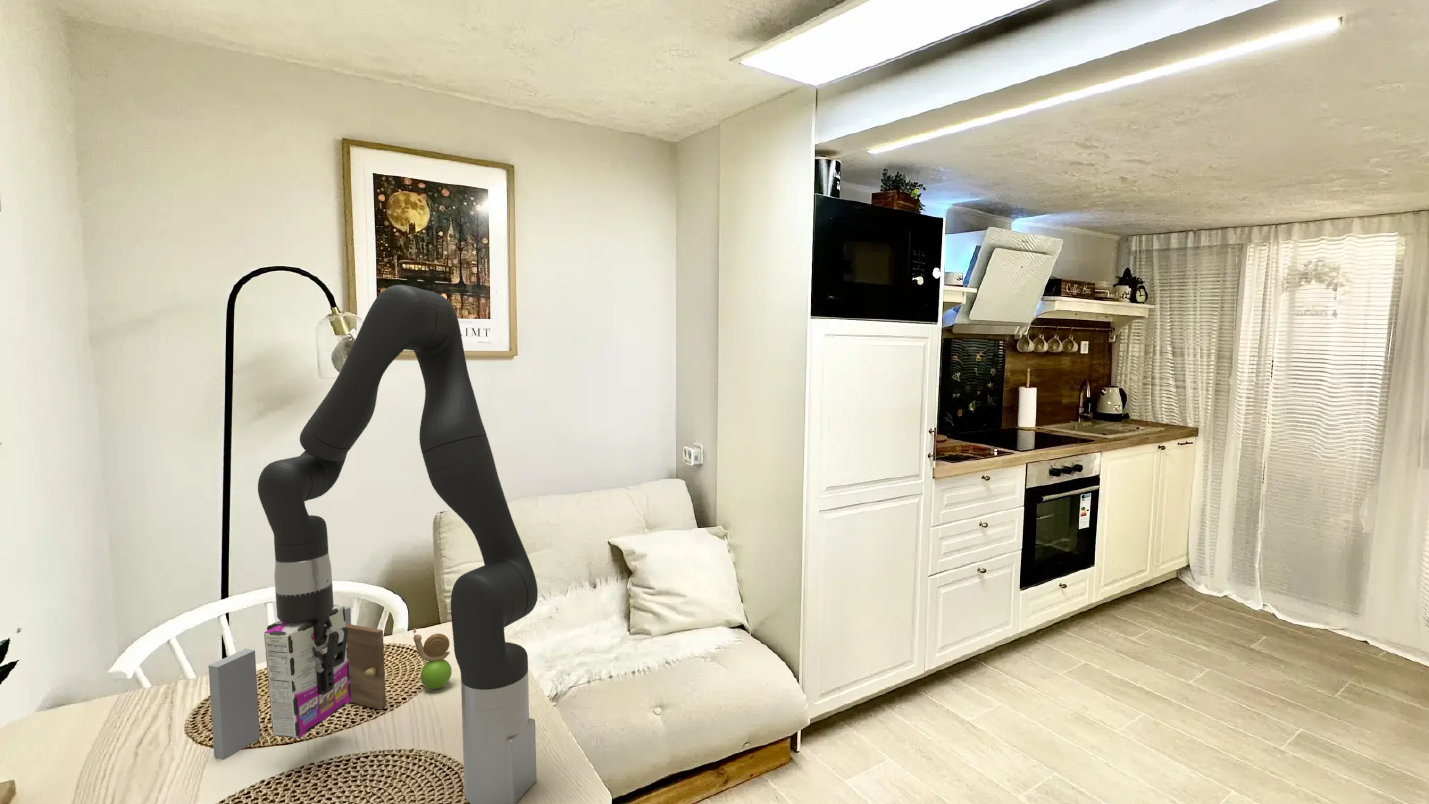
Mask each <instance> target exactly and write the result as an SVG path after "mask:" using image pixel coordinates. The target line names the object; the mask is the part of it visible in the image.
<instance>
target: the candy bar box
mask: <svg viewBox="0 0 1429 804" xmlns="http://www.w3.org/2000/svg"><path fill="white" fill-rule="evenodd" d="M344 606H345V605H341V604H340V605H339V604H334V606H333V609H332V610H331V612H330V615H329V618H330V621H331V623H332V627H334V628H337V629H341V628H343V627H346V622H345V609H344ZM263 637H264V638H263V639H264V646H265V649H264V650H265V657H266V658H265V659H266V661H265V662H266V669H267V672H266V673H267V677H268V678H267V679H268V681H267V683H268V694H269V705H270V718H271V728H272V730H271V731H272V735H273V736H274V737H279V738H289V739H290V738H293V739H299V738H301V737H303V736H304V735H306V734H307V733H308V732H310V731H311V730H313V729H314V728H316V727H317V726H319V725H320V724H321V723H322V722H324V721H326V720H327V719H328V718H329V717H331V716H332V715H333V714H335V713H336V712H338V711H339V710H341V709H342V708H343V707H344V706H346V705H347V704H349V703H351V702H350V701H351V689H350V676H349V664H348V663H349V661H348V652H347V651H348V650H347V644H346V652H345V660H344V662H343V663H342V664H340V665H338V666H336V667H334V668H333V672H334V687H333V689H332V690H331V691H329V692H328V693H326V694H324V695H320V694H318V688H317V674H316V672H318V671H317V669H316V666H315V659H313V658H312V648H311V647H313V646H314V647H315V649H316V651H320V650H322V649H324V648H325V647H326V644H327V643H326V641H325V642H324V644H322V645H320V646H316V645H315V642H314V631H313V623H312V622H309V621H303V622H284V623H282V624H280V625H278V626H276V627H274V628H272V629H270V630H268V631H267V630H266V631H264V632H263ZM336 655H337V654H336ZM336 655H335V658H336ZM321 658H322V660H323V662H325V661H326V659H325V654H323V655H322V656H321Z"/></svg>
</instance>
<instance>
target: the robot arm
mask: <svg viewBox="0 0 1429 804" xmlns="http://www.w3.org/2000/svg"><path fill="white" fill-rule="evenodd" d="M403 351H412V352H413V353H414V355H415V357H416V360H417V362H418V365H419V369H420V371H421V375H422V378H423V383H424V391H425V392H424V404H423V407H422V408H423V409H422V414H421V419H420V426H419V436H418V437H419V438H418V439H419V446H420V451H421V452H420V453H421V454H422V458H423V461H424V466H425V469H426V472H427V475H428V479H429V481H430V484H431V486H432V487H433V489H434V491H435V492H436V493H437V494H436V495H438V496H439V497H440V498H441V500H443V502H445V504H446V505H447V506H448V507H449V508H450V509H451V510H452V511H453V512H454V513H456V515H457V516H458V517H459V518H460V519H461V520H462V521H463V522H464V523H465V524H466V526H468V528H469V529H470V530H471V533H472V534H473V536H474V538H475V540H476V542H477V544H478V547H479V550H480V553H481V556H482V560H483V563H484V565H482V566H480V567H477V568H474V569H472V570H470V571H467V572H465V573H463V574H461V576H459V577H458V578H457V579H456V581H455V582H454V584H453V587H452V589H451V594H450V615H451V616H450V619H451V630H452V638H453V640H452V641H453V651H454V656H455V660H456V663H457V665H458V668H459V671H460V687H461V688H460V689H461V691H460V692H461V693H460V694H461V721H462V723H461V725H462V726H461V727H462V728H461V729H462V755H463V756H462V758H463V760H462V761H463V781H464V782H463V783H464V785H463V786H464V788H463V789H464V797H465V799H466V801H467V802H468V803H469V804H517V803H518V802H519V800H520V799H521V798H522V797H523V796H524V795H525V794H526V792H528V790H529V789H530V788H531V787H532V786H533V785H534V783H536V781H538V780H537V742H536V741H537V739H536V738H537V737H536V734H537V733H536V720H535V719H534V718H530V707H529V706H530V705H529V704H530V702H529V701H530V697H529V695H530V694H529V692H530V691H529V658H528V652H527V650H526V648H524V647H523V646H522V645H519V644H516V643H513V642H509V641H507V642H506V638H505V637H506V636H505V628H506V627H508V626H510V625H512V624H514V623H515V622H517V621H519V620H521V619H523V618H525V617H526V616H527V615H530V613H532V611H533V610H534V608H535V607H536V604H537V601H538V596H539V595H538V593H539V592H538V583H537V578H536V576H535V575H536V574H535V572H534V569H533V566H532V564H531V561H530V559H529V556H528V554H527V551H526V549H525V547H524V544H523V542H522V539H521V537H520V535H519V533H518V530H517V528H516V525H515V523H514V520H513V517H512V514H511V511H510V508H509V506H508V502H507V499H506V496H505V493H504V490H503V487H502V484H501V481H500V478H499V473H498V469H497V467H496V463H495V459H494V454H493V451H492V448H491V445H490V442H489V438H488V435H487V432H486V428H485V426H484V423H483V420H482V417H481V412H480V409H479V406H478V402H477V399H476V395H475V392H474V389H473V386H472V382H471V378H470V375H469V371H468V365H467V360H466V356H465V355H466V354H465V349H464V344H463V338H462V332H461V327H460V322H459V318H458V315H457V313H456V310H455V308H454V306H453V304H452V303H451V301H449V300H448V299H447V298H446V297H444V296H443V295H441V294H440V293H436V292H435V291H430V290H427V289H422V288H418V287H415V286H411V285H405V284H396V285H395V284H394V285H392V286H391V285H390V286H389V287H387V288H385V289H384V290H382V291H381V292H380V293H379V294H378V295H377V297H376V298H375V300H374V301H373V302H372V304H371V306H370V308H369V310H368V311H367V313H366V316H365V318H364V320H363V322H362V324H361V326H360V329H359V331H358V333H357V334H356V337H355V339H354V341H353V343H352V346H351V348H350V350H349V351H348V354H347V356H346V359H345V361H344V363H343V365H342V367H341V369H340V371H339V373H338V375H337V377H336V379H335V381H334V383H333V384H332V386H331V388H330V390H328V392H327V394H326V395H325V397H324V399H323V400H322V401H321V403H320V404H319V405H318V407H317V408H316V410H314V412H313V414H312V415H311V417H310V418H309V419H308V420H307V422H306V423H305V425H304V426H303V428H302V431H300V435H299V443H300V446H301V448H303V449H304V451H303V452H302V453H301V454H300V455H298V456H294V457H289V458H283V459H279V460H278V459H277V460H275V461H272V462H270V463H268V464H267V465H266V466H265V467H264V468H263V470H262V471H261V473H260V475H259V477H258V480H257V481H258V482H257V494H258V498H259V501H260V504H261V506H262V508H263V511H264V513H265V516H266V518H267V522H268V524H269V526H270V528H271V531H272V533H273V543H274V560H275V563H274V565H275V566H274V576H273V577H274V591H275V607H276V617H277V619H278V621H276V622H274V623H272V624H271V623H270V624H269V625H268V626H267V627H266V631H268V630H270V629H272V628H274V627H276V626H278V625H280V624H282V623H284V622H303V621H309V622H312V623H313V631H314V642H315V645H316V646H320V645H322V644H324V642H325V641H326V643H327V644H326V647H325V648H324V649H322V650H320V651H316V649H315V647H314V646H313V647H311V648H312V658H313V659H315V666H316V669H317V671H318V672H316V674H317V688H318V694H320V695H324V694H326V693H328V692H329V691H331V690H332V689H333V687H334V672H333V668H334V667H336V666H338V665H340V664H342V663H343V662H344V660H345V652H346V644H347V636H348V629H347V628H346V627H343V628H341V629H337V628H334V627H332V623H331V621H330V618H329V615H330V612H331V610H332V609H333V606H334V605H335V604H334V593H333V592H334V591H333V575H332V573H333V572H332V564H331V559H330V554H329V538H328V537H329V536H328V527H327V522H326V520H325V519H324V518H323V517H321V516H318V515H312V514H310V515H309V513H308V510H307V507H306V502H307V501H310V500H314V499H318V498H320V497H322V496H323V495H326V493H328V492H329V491H330V490H331V488H332V487H333V486H334V485H335V484H336V482H337V481H338V479H339V477H340V474H341V472H342V470H343V467H344V464H345V463H346V459H347V455H348V452H349V451H350V450H351V449H352V447H353V446H354V444H355V443H356V442H357V441H358V439H359V438H360V437H361V435H362V434H363V433H364V431H365V429H366V428H367V427H368V425H369V423H370V421H371V419H372V417H373V415H374V412H375V408H376V405H377V397H378V391H379V386H380V382H381V380H382V377H383V375H384V374H385V372H386V371H387V369H388V368H389V366H390V365H391V364H392V363H393V362H394V361H395V360H396V358H397V357H398V356H399V355H400V354H401V353H402V352H403ZM323 654H325V659H326V661H325V662H323V660H322V658H321V656H322V655H323ZM336 654H337V655H336ZM335 655H336V658H335Z"/></svg>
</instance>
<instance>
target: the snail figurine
mask: <svg viewBox="0 0 1429 804" xmlns="http://www.w3.org/2000/svg"><path fill="white" fill-rule="evenodd" d="M413 633H414V635H413V638H412V639H413V642H414V645H415V648H416V651H417V654H418V656H419V657H420V658H421V659H422V660H424V661H426V663H425V664H424V665H423V667H422V668H421V671H420V682H421V683H422V686H424V687H426V688H427V689H430V690H438V689H440V688H443V687H444V686H445V685H446V684H448V682H449V681H450V679H451V678H452V677H451V676H452V667H451V664H450V663H449V662H448V660H446V658H447V657H448V656H449V655H450V654H451V653H450V651H448V650H449V649H450V645H451V644H450V639H449V638H448V637H447V636H446V635H445V634H443V633H433V634H432V635H430V636H429V637H427V638H426V640H425V641H424V643H423V642H422V637H423V636H422V635H421V634H419V633H418V634H416V633H417V628H413Z"/></svg>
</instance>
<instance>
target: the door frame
mask: <svg viewBox="0 0 1429 804" xmlns="http://www.w3.org/2000/svg"><path fill="white" fill-rule="evenodd" d="M343 606H344V609H345V622H346V624H352V613H351V606H345V605H343ZM257 676H258V675H257V663H256V650H255V649H250V648H244V649H241V650H240V651H238V652H235V653H233V654H231V655H229V656H227V657H224V658H222V659H219V660H216V661H215V662H213V663H210V664H208V677H209V678H208V680H209V681H208V682H209V694H210V695H209V696H210V714H211V727H212V728H211V730H212V742H213V743H212V744H213V745H212V747H213V757H214V759H219V760H223V761H224V760H226V759H227V758H229V757H231V756H233V755H235V754H236V753H238V752H239V751H242V749H244V748H246V747H248V746H250V745H251V744H253V743H254V742H257V741H258V740H260V739H261V733H260V715H259V699H258V698H259V697H258V677H257ZM259 738H260V739H259Z"/></svg>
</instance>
